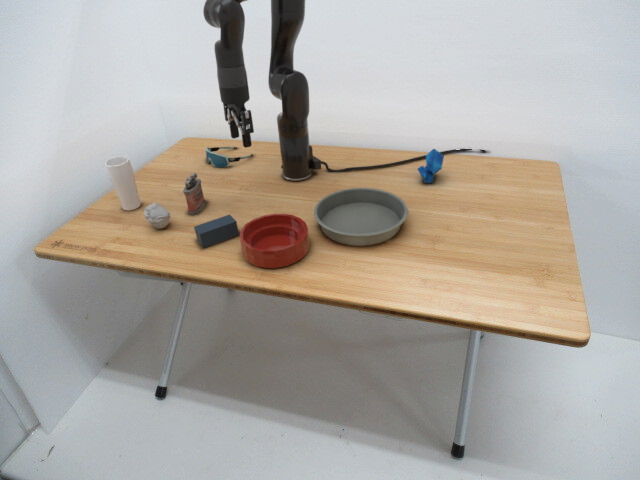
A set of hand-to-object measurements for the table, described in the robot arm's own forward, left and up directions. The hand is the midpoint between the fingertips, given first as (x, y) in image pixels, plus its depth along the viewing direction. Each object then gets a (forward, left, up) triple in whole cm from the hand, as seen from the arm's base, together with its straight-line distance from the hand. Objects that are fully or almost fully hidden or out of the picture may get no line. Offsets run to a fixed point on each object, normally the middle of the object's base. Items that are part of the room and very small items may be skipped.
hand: (241, 142), depth 130 cm
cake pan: (-18, +31, -18) cm, 40 cm away
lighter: (+15, -5, -18) cm, 24 cm away
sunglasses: (-6, -32, -18) cm, 37 cm away
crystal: (-50, +23, -18) cm, 58 cm away
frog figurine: (+27, -1, -18) cm, 33 cm away
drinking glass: (+31, -18, -18) cm, 40 cm away
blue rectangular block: (+16, +14, -18) cm, 28 cm away
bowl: (+6, +28, -18) cm, 34 cm away
